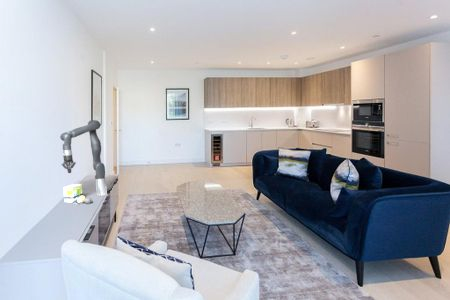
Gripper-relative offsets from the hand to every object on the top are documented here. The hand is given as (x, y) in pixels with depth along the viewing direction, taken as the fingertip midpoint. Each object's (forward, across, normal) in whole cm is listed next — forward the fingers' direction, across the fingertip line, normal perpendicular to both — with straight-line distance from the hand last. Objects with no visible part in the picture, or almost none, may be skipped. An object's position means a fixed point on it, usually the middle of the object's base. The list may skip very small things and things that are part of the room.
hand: (69, 173), depth 334 cm
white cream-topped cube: (+26, -1, +14) cm, 29 cm away
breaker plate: (+28, -4, +10) cm, 30 cm away
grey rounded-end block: (+28, -6, +19) cm, 34 cm away
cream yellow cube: (+26, -7, +7) cm, 27 cm away
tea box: (+28, -4, -6) cm, 29 cm away
